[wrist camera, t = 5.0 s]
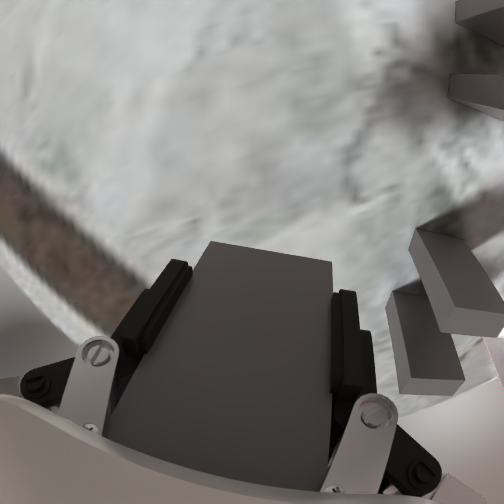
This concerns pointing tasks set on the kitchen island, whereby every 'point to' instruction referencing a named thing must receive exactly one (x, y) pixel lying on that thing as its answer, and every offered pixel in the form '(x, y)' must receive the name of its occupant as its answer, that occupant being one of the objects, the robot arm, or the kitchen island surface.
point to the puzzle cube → (497, 354)
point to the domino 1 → (239, 372)
